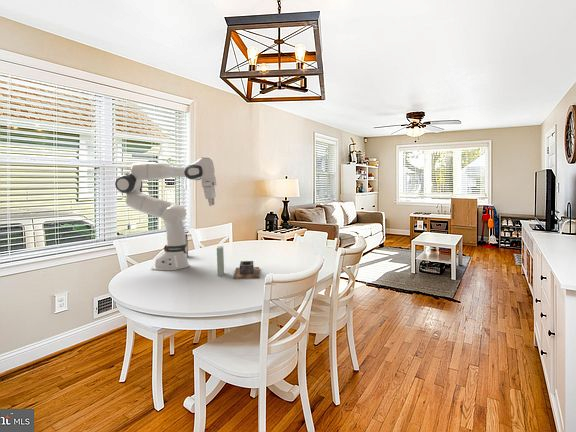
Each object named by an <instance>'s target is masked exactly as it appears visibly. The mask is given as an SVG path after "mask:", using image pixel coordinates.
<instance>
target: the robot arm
mask: <svg viewBox="0 0 576 432" xmlns="http://www.w3.org/2000/svg"><path fill="white" fill-rule="evenodd" d="M168 178H187V179H188V180H193V181H201V187H202V189H203V194H204V197H205V200H207V202H208V206H209V207H212V206H214V205H215V198H216V197H217V196H216V195H217V194H216V186H217V180H216V175H215V166H214V162H213V159H211V158H210V157H200V158H198V159H197V160H196V161H195V162H192V163H190V164H188V165H186V166H185V167H182V166H171V165H166V164H164V163H160V162H155V161H154V162H152V161H146V162H145V161H143V162H136V163H135V162H134V163H133V164H132V165H131V168H130V172H126V173H124V174H123V175H121V176H118V178H116V179H115V182H114V184H115V185H114V186H115V188H116V189H117V191H118V192H120V193H123V194H125V195H126V197H125V203H126V205H127V206H128V207H129V208H132V209H134V210H135V211H137V212H140V213H143V214H146V215H149V216H153V217H155V218H156V217H157V218H161V219H162V220H163V223H164V228H165V232H166V244H165V245H164V247H163V250H164V251H163V252H162V253H160V254H159V255H158V256H157V257H156V258H155V261H154V262H155V263H154V264H153V265H152V266H151V268H150V269H151V270H152V271H153V270H154V271H176V270H177V271H178V270H180V269H185V268H188V267H189V266H190V264H189V261H188V256H187V255H186V252H187V246H186V244H185V234H186V232H185V227H184V222H183V220H185V218H186V216H187V210H186V209H185V207H184V206H183V205H181V204H180V205H179V204H177V203H174V202H170V201H167V200H162V199H159V198H157V197H154V196H151V195H148V194H145V193H143V181H159V180H166V179H168Z"/></svg>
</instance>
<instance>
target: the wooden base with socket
mask: <svg viewBox="0 0 576 432" xmlns="http://www.w3.org/2000/svg"><path fill="white" fill-rule="evenodd" d="M243 279H245V280H246V279H248V280H249V279H260V266H255V265H254V261H253V260H241V261H240V263H239V267H235V270H234V274H233V280H243Z"/></svg>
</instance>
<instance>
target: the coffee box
mask: <svg viewBox="0 0 576 432" xmlns="http://www.w3.org/2000/svg"><path fill="white" fill-rule="evenodd" d="M188 243H189V242H188V234H187V233H185V244H186V246H187V252H186V255H187V257H189V245H188Z"/></svg>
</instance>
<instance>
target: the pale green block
mask: <svg viewBox="0 0 576 432" xmlns="http://www.w3.org/2000/svg"><path fill="white" fill-rule="evenodd" d="M224 253H225V252H224V246H222V245H221V246H217V248H216V268H217V277H223V276H224V274H225V260H224V259H225V258H224V257H225V255H224Z"/></svg>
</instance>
